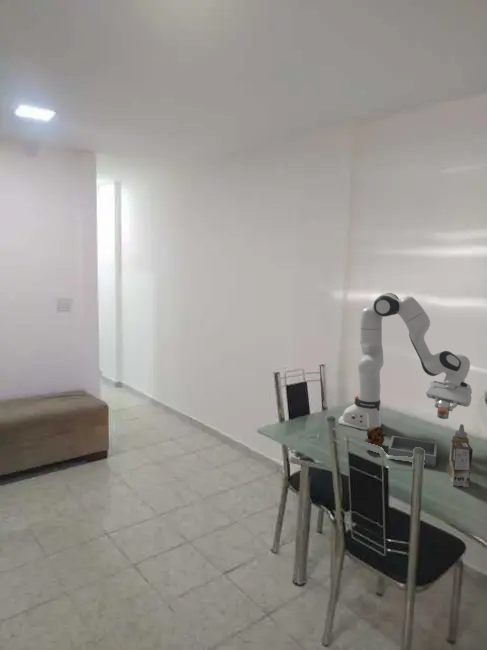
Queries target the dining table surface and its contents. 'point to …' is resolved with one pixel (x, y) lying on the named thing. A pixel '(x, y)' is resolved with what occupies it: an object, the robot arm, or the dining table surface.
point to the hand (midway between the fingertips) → (443, 408)
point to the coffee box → (460, 463)
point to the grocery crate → (406, 446)
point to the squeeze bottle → (460, 435)
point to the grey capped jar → (443, 409)
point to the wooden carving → (375, 436)
